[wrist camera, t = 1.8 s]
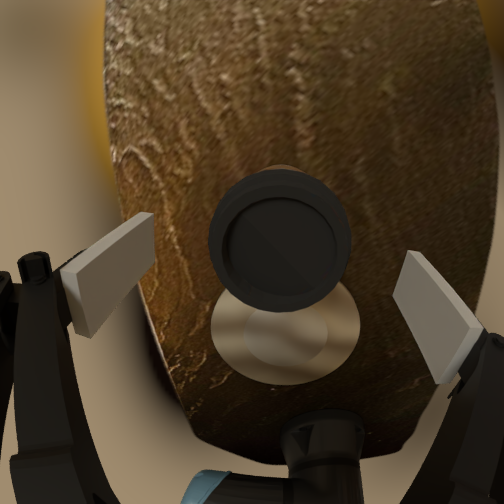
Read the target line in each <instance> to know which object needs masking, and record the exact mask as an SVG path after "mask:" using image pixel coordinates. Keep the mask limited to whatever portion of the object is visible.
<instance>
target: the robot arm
mask: <svg viewBox="0 0 504 504" xmlns="http://www.w3.org/2000/svg"><path fill="white" fill-rule="evenodd" d="M154 263H155V255H154V214H153V213H144V212H140V213H138V214H137V215H135V216H134V217H132V218H131V219H129V220H128V221H126V222H125V223H123V224H122V225H120V226H119V227H118V228H116V229H115V230H113V231H112V232H110V233H109V234H108V235H106V236H105V237H103V238H102V239H100V240H99V241H98V242H96V243H95V244H93V245H92V246H91V247H89V248H87V249H85V250H82V251H80V252H79V253H77V254H76V255H74V256H73V258H70V259H69V260H68V261H67V262H65V263H64V264H63V265H61V266H60V267H58V268H57V269H56V270H55V271H53V272H52V268H51V263H50V257H49V254H48V253H46V252H41V251H38V252H32V253H29V254H26V255H24V256H22V257H21V258H20V259H19V260H18V262H17V264H18V268H19V272H20V276H21V280H22V284H19V283H18V284H17V283H12V279H11V276H10V273H9V272H6V271H0V458H1V448H2V439H3V432H4V426H5V420H6V414H7V409H8V404H9V399H10V394H11V390H12V386H13V382H14V409H15V422H16V433H17V441H18V454H16V455H12V456H11V458H10V461H9V462H10V473H11V479H12V484H13V488H14V493H15V497H16V501H17V504H120V502H119V501H118V499H117V497H116V496H115V494H114V492H113V491H112V489H111V487H110V485H109V482H108V480H107V478H106V475H105V473H104V470H103V468H102V465H101V462H100V460H99V457H98V454H97V451H96V448H95V445H94V442H93V439H92V436H91V433H90V430H89V426H88V423H87V419H86V416H85V412H84V409H83V405H82V401H81V396H80V393H79V388H78V383H77V379H76V374H75V369H74V363H73V358H72V352H71V346H70V340H69V333H68V330H67V326H68V325H69V324H70V323H71V322H72V323H73V326H74V330H75V333H76V334H79V335H82V336H85V337H87V338H90V339H91V338H92V337H93V335H94V334H95V333H96V332H97V330H98V329H99V328H100V327H101V325H102V324H103V323H104V322H105V320H106V319H107V318H108V317H109V315H110V314H111V313H112V312H113V310H114V309H115V308H116V307H117V306H118V305H119V303H120V302H121V301H122V300H123V299H124V297H125V296H126V295H127V294H128V293H129V291H130V290H131V289H132V288H133V287H134V285H135V284H136V283H137V282H138V281H139V280H140V279H141V277H142V276H143V275H144V274H145V273H146V272H147V271H148V269H149V268H150V267H151V266H152V265H153V264H154ZM393 298H394V299H395V301H396V303H397V305H398V307H399V309H400V311H401V312H402V314H403V316H404V318H405V320H406V322H407V324H408V326H409V328H410V330H411V332H412V334H413V336H414V338H415V340H416V342H417V344H418V346H419V348H420V350H421V352H422V354H423V356H424V358H425V360H426V363H427V365H428V367H429V369H430V371H431V374H432V376H433V378H434V380H435V383H436V384H444V383H450V382H451V381H452V380H453V378H454V377H455V375H456V374H457V372H458V373H459V375H460V377H461V379H460V381H459V382H458V384H457V385H456V386H455V388H454V389H453V390H452V392H451V393H450V394H449V396H448V397H447V398H448V399H449V398H450V397H451V396H452V399H451V402H450V404H449V407H448V410H447V412H446V415H445V417H444V420H443V422H442V425H441V427H440V429H439V432H438V434H437V436H436V438H435V440H434V443H433V445H432V447H431V449H430V451H429V453H428V455H427V457H426V459H425V461H424V463H423V464H422V466H421V468H420V470H419V472H418V474H417V475H416V477H415V479H414V481H413V483H412V485H411V486H410V488H409V489H408V491H407V492H406V494H405V496H404V497H403V499H402V500H401V502H400V504H504V337H502V336H501V335H499V334H496V333H488V332H487V331H486V329H485V328H484V327H483V325H482V324H481V323H480V321H479V320H478V319H477V318H476V316H475V315H474V314H473V313H472V311H471V310H470V309H469V307H468V306H467V305H466V304H465V303H464V302H463V301H462V300H461V298H460V297H459V296H458V295H457V294H456V292H455V291H454V290H453V289H452V288H451V286H450V285H449V284H448V283H447V282H446V281H445V279H444V278H443V277H442V276H441V275H440V274H439V273H438V272H437V270H436V269H435V268H434V267H433V266H432V265H431V264H430V263H429V262H428V261H427V259H426V258H425V257H424V256H423V255H422V254H421V253H420V252H416V251H410V250H408V251H407V255H406V258H405V261H404V264H403V267H402V270H401V273H400V276H399V279H398V282H397V285H396V287H395V290H394V293H393ZM364 438H365V427H364V422H363V420H362V418H361V417H360V416H359V415H357V414H356V413H353V412H351V411H347V410H341V409H324V410H316V411H311V412H307V413H304V414H301V415H299V416H296V417H294V418H292V419H291V420H289V421H288V422H286V423H285V424H284V425H283V427H282V428H281V431H280V446H281V449H282V452H283V455H284V458H285V460H286V463H287V466H288V469H289V477H288V478H277V477H262V476H253V475H244V474H237V473H232V472H231V471H227V472H223V471H216V470H202V471H200V472H198V473H197V474H196V475H195V476H194V478H193V479H192V480H191V482H190V484H189V486H188V488H187V490H186V492H185V494H184V496H183V499H182V501H181V504H364V497H363V489H362V481H361V472H360V463H359V460H360V456H361V451H362V447H363V443H364Z"/></svg>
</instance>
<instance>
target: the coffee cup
mask: <svg viewBox="0 0 504 504" xmlns="http://www.w3.org/2000/svg"><path fill="white" fill-rule="evenodd" d="M208 246H209V251H210V257H211V261H212V263H213V267H214V269H215V271H216V273H217V275H218V278H219V280H220V282H221V283H222V284H223V285H224V286H225V288H226V289H227V290H228V291H229V292H230V294H232V295H233V296H234V297H236V298H237V299H238V300H240V301H241V302H243V303H244V304H246V305H249V306H251V307H253V308H256V309H258V310H262V311H268V312H274V313H283V312H294V311H298V310H301V309H305V308H308V307H310V306H312V305H313V304H315V303H317V302H319V301H321V300H322V299H323V298H325V297H326V296H327V295H328V294H329V293H330V292H331V291H332V290H333V289H334V288H335V287H336V285H337V283H338V282H339V280H340V279H341V277H342V275H343V273H344V270H345V269H346V266H347V263H348V260H349V256H350V253H351V230H350V227H349V223H348V220H347V216H346V213H345V210H344V208H343V206H342V205H341V203H340V201H339V200H338V198H337V197H336V195H335V194H334V193H333V192H332V191H331V190H330V189H329V188H328V187H327V186H326V185H325V184H323V183H322V182H321V181H320V180H318V179H316V178H314V177H312V176H310V175H308V174H306V173H305V172H303V171H301V170H299V169H297V168H295V167H292V166H288V165H274V166H270V167H267V168H264V169H262V170H260V171H259V172H257V173H255V174H252V175H249V176H247V177H245V178H243V179H242V180H241V181H239V182H238V183H236V184H235V185H234V186H232V187H231V188H230V189H229V190H228V192H227V193H226V194H225V195H224V197H223V198H222V199H221V200H220V202H219V204H218V206H217V208H216V211H215V213H214V216H213V218H212V221H211V224H210V228H209V238H208Z"/></svg>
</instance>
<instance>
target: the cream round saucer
mask: <svg viewBox="0 0 504 504" xmlns="http://www.w3.org/2000/svg"><path fill="white" fill-rule="evenodd" d="M359 332H360V318H359V313H358V310H357V307H356V304H355V302H354V299H353V297H352V295H351V294H350V292H349V290H348V289H347V288H346V287H345V285H344V284H343V283H342V282H340V281H339V282H338V283H337V285H336V287H335V288H334V289H333V290H332V291H331V292H330V293H329V294H328V295H327V296H326V297H325V298H323V299H322V300H321V301H319V302H317V303H315V304H313V305H312V306H310V307H308V308H305V309H301V310H298V311H294V312H283V313H274V312H268V311H262V310H258V309H256V308H253V307H251V306H249V305H246V304H244V303H243V302H241V301H240V300H238V299H237V298H236V297H234V296H233V295H232V294H230V292H229V291H228V290H227V289H226V288H225V290H224V291H223V292H222V294H221V295H220V297H219V299H218V301H217V303H216V306H215V309H214V312H213V315H212V320H211V334H212V339H213V342H214V344H215V347H216V349H217V351H218V352H219V354H220V355H221V357H222V358H223V359H224V360H225V361H226V362H227V363H228V364H229V365H230V366H231V367H232V368H233V369H235V370H236V371H238V372H239V373H241V374H243V375H245V376H247V377H249V378H251V379H254V380H256V381H260V382H263V383H268V384H275V385H294V384H301V383H306V382H310V381H313V380H316V379H319V378H321V377H323V376H325V375H327V374H329V373H331V372H332V371H334V370H335V369H337V368H338V367H339V366H340V365H341V364H342V363H344V361H345V360H346V359H347V358H348V357H349V356H350V354H351V353H352V351H353V350H354V348H355V345H356V343H357V340H358V337H359Z"/></svg>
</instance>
